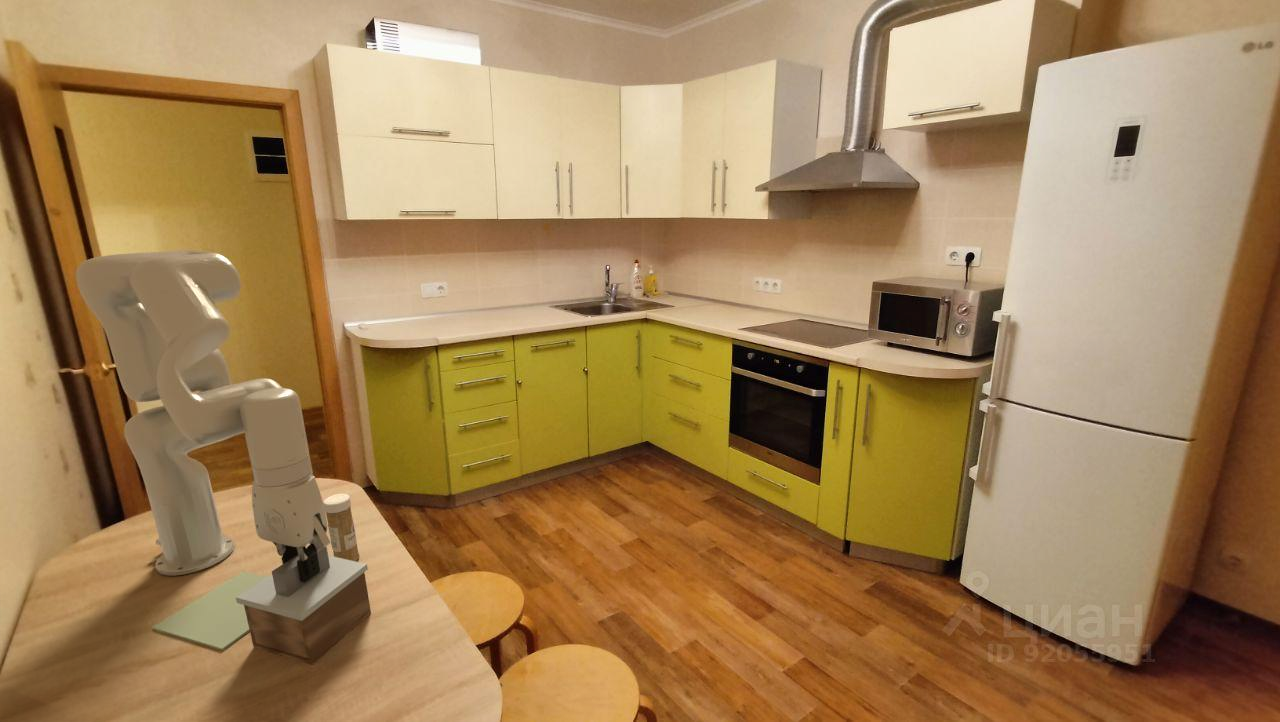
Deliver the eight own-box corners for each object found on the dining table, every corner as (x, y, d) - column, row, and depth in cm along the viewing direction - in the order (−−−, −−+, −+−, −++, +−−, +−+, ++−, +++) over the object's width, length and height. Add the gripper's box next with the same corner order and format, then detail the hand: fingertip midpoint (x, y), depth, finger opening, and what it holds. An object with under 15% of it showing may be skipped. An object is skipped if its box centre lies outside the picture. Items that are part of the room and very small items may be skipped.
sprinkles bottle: (361, 562, 113) (351, 499, 110) (335, 570, 111) (324, 506, 107) (357, 551, 117) (347, 490, 113) (332, 558, 114) (321, 497, 111)
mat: (152, 629, 96) (152, 627, 96) (243, 572, 111) (243, 570, 110) (222, 650, 91) (222, 648, 91) (308, 588, 106) (308, 586, 105)
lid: (238, 611, 90) (230, 574, 88) (309, 563, 101) (303, 530, 100) (303, 629, 86) (295, 591, 84) (369, 577, 97) (363, 543, 96)
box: (253, 647, 92) (243, 603, 89) (316, 599, 102) (308, 559, 100) (312, 664, 88) (303, 619, 86) (371, 613, 99) (364, 572, 97)
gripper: (220, 473, 87) (244, 580, 92) (302, 488, 82) (323, 600, 87) (265, 453, 94) (285, 553, 99) (344, 466, 89) (361, 571, 94)
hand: (303, 574), depth 93 cm, fingers closed on lid, 2 cm apart
